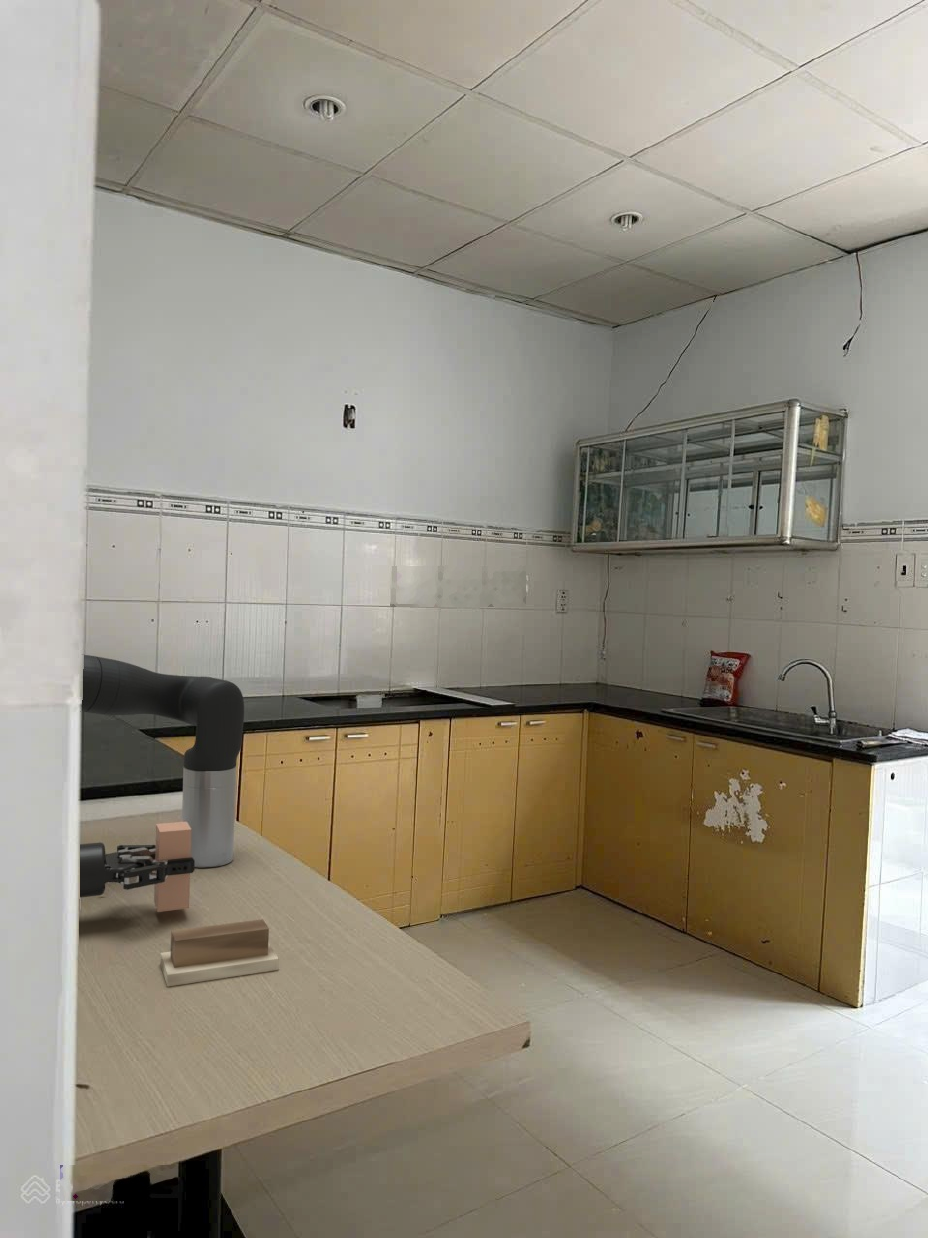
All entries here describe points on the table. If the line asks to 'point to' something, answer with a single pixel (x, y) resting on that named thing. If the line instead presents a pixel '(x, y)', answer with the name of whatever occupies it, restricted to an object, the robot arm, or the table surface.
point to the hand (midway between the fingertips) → (190, 859)
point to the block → (172, 845)
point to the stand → (218, 952)
